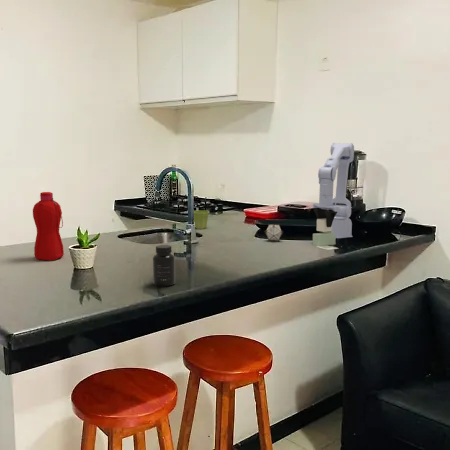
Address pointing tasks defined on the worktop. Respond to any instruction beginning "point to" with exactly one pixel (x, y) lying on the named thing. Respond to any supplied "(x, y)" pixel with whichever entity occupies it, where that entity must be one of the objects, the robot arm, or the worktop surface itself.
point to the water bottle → (47, 228)
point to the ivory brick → (322, 225)
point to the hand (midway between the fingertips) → (324, 226)
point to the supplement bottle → (163, 266)
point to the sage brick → (324, 239)
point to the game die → (273, 232)
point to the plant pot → (201, 219)
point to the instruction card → (327, 247)
